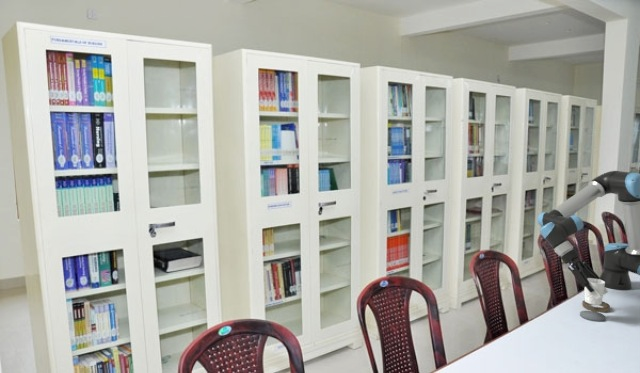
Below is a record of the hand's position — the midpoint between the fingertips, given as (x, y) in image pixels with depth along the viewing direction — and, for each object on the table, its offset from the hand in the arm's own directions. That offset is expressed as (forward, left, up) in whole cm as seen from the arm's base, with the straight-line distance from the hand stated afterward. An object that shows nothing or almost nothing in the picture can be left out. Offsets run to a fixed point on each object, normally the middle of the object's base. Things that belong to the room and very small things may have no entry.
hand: (602, 295), depth 209 cm
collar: (-13, -6, -11) cm, 18 cm away
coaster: (0, -3, -11) cm, 12 cm away
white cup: (0, -3, -4) cm, 6 cm away
